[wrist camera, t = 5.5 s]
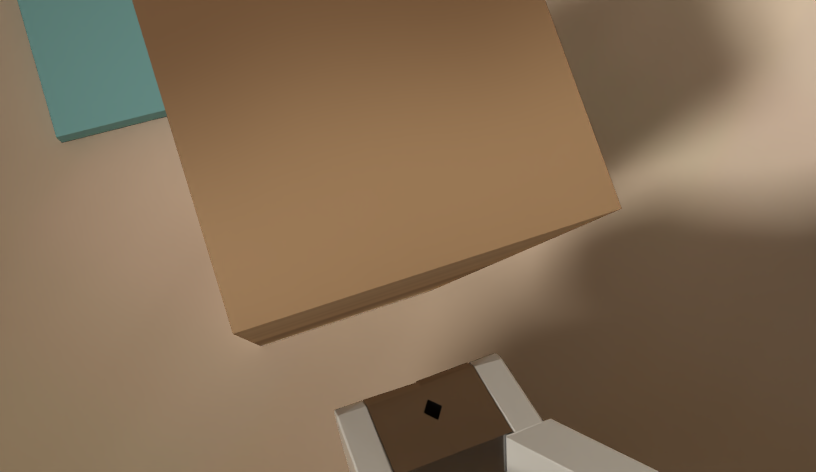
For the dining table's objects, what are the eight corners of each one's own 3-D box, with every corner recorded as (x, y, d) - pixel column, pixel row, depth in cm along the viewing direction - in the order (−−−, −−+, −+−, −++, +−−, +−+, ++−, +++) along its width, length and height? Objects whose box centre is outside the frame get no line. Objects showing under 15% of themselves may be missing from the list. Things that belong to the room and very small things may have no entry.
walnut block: (430, 291, 21) (621, 209, 9) (261, 346, 20) (232, 333, 8) (376, 131, 21) (492, -142, 10) (209, 176, 20) (110, -69, 8)
